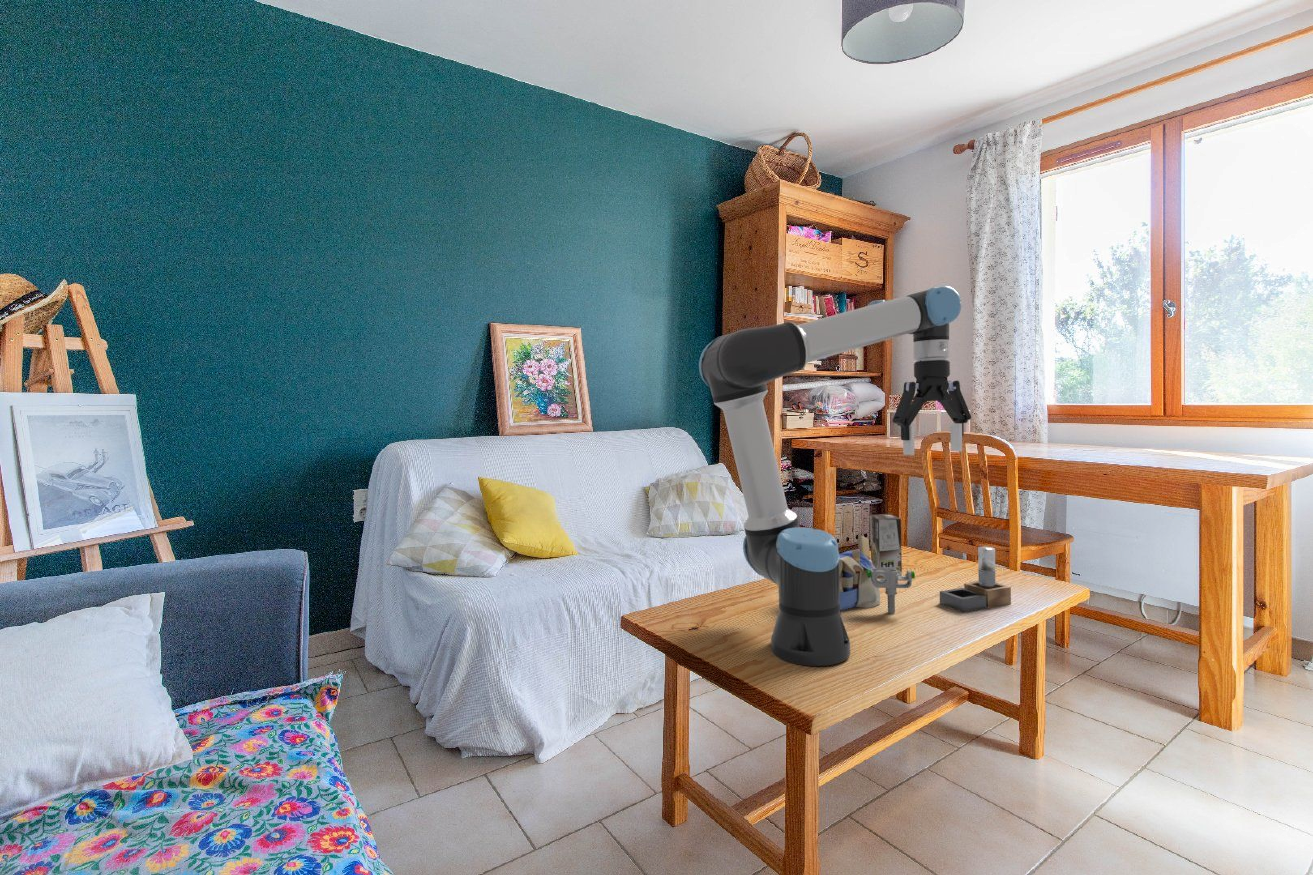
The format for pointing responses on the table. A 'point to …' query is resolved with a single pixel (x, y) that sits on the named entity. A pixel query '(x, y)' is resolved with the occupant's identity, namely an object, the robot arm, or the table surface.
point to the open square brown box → (992, 593)
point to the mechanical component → (890, 583)
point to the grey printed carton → (886, 542)
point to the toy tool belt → (857, 578)
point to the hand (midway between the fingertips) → (933, 453)
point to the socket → (963, 599)
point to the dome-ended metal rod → (986, 567)
